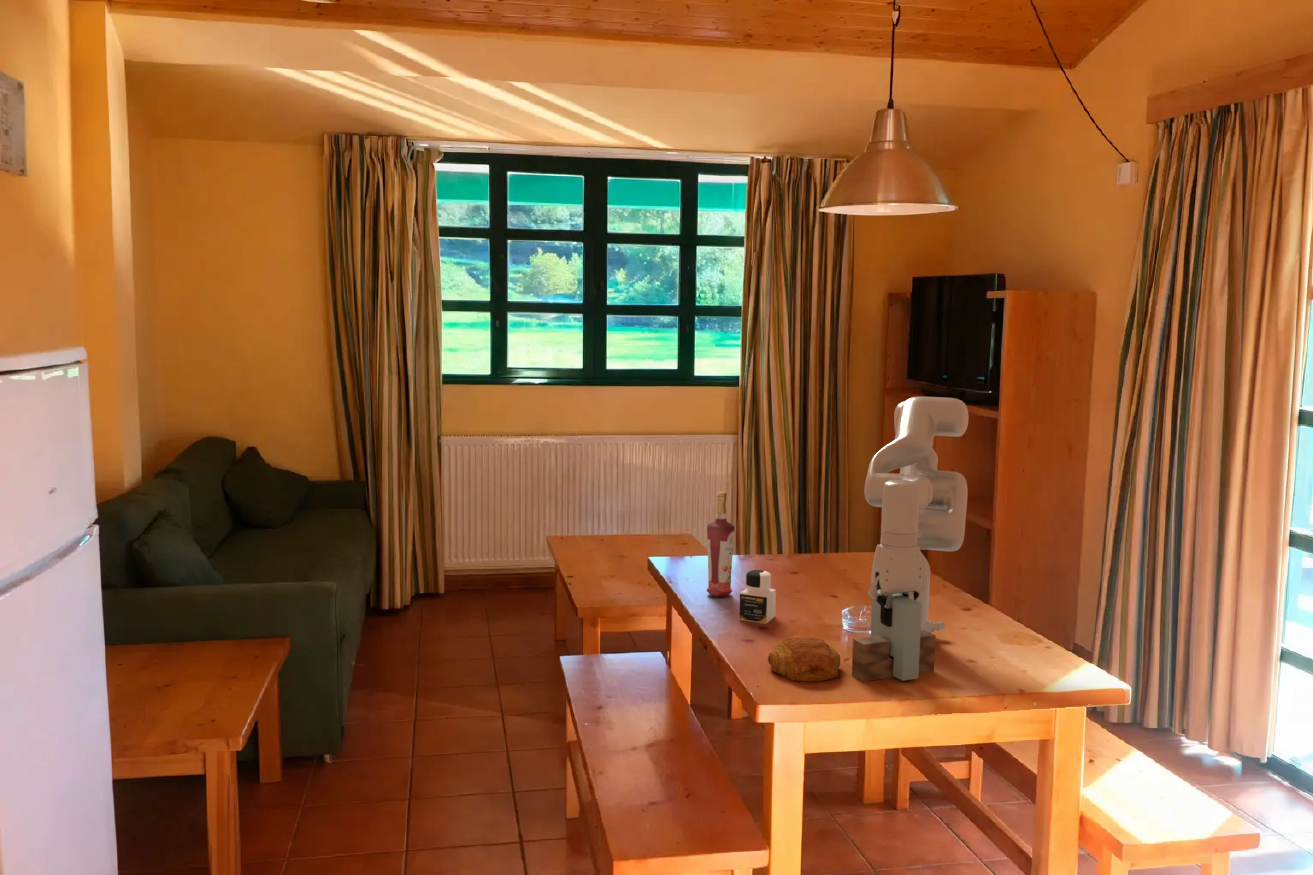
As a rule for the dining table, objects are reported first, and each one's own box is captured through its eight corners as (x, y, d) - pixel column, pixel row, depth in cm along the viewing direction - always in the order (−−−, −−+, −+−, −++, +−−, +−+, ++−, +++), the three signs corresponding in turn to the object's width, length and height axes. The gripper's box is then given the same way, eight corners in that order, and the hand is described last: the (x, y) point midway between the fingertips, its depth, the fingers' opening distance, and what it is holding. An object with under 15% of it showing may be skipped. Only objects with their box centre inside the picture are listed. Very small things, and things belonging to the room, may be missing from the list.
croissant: (766, 670, 232) (761, 635, 231) (835, 660, 233) (831, 625, 232) (777, 692, 218) (772, 655, 217) (851, 682, 218) (847, 644, 217)
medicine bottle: (738, 620, 261) (739, 572, 259) (748, 612, 267) (750, 566, 266) (766, 624, 258) (767, 576, 256) (775, 616, 264) (777, 570, 263)
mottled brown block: (922, 665, 230) (924, 629, 229) (933, 671, 226) (935, 635, 225) (851, 675, 223) (853, 638, 222) (862, 681, 219) (863, 644, 218)
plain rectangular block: (869, 662, 229) (872, 590, 227) (885, 659, 231) (888, 588, 229) (902, 680, 218) (905, 605, 216) (918, 678, 220) (921, 603, 218)
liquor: (725, 600, 278) (727, 496, 274) (700, 596, 281) (702, 493, 278) (737, 594, 284) (740, 491, 281) (713, 590, 288) (715, 489, 284)
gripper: (921, 532, 227) (917, 615, 230) (855, 538, 221) (851, 622, 224) (943, 540, 221) (938, 624, 223) (875, 545, 214) (871, 633, 217)
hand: (895, 622), depth 223 cm, fingers closed on plain rectangular block, 3 cm apart
